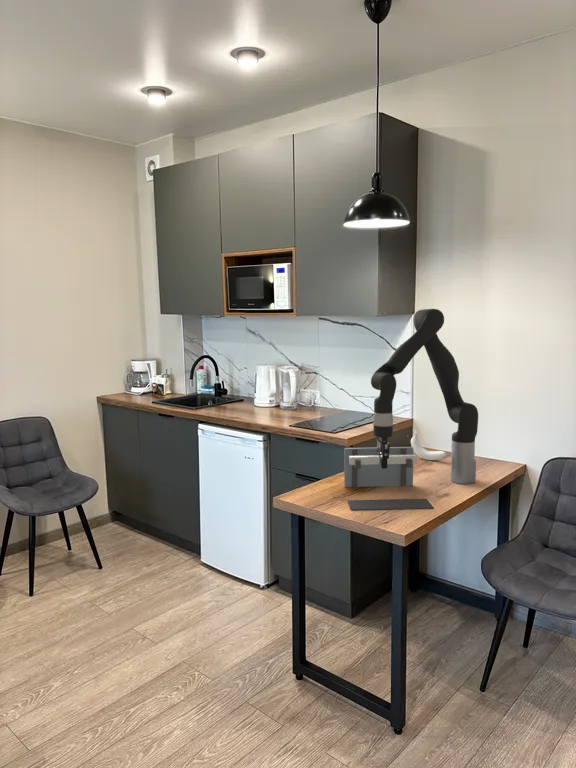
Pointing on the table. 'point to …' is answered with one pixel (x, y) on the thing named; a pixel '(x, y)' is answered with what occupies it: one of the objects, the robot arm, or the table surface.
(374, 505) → the mat
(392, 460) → the rail
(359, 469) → the rail stand
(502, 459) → the table surface
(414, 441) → the banana
